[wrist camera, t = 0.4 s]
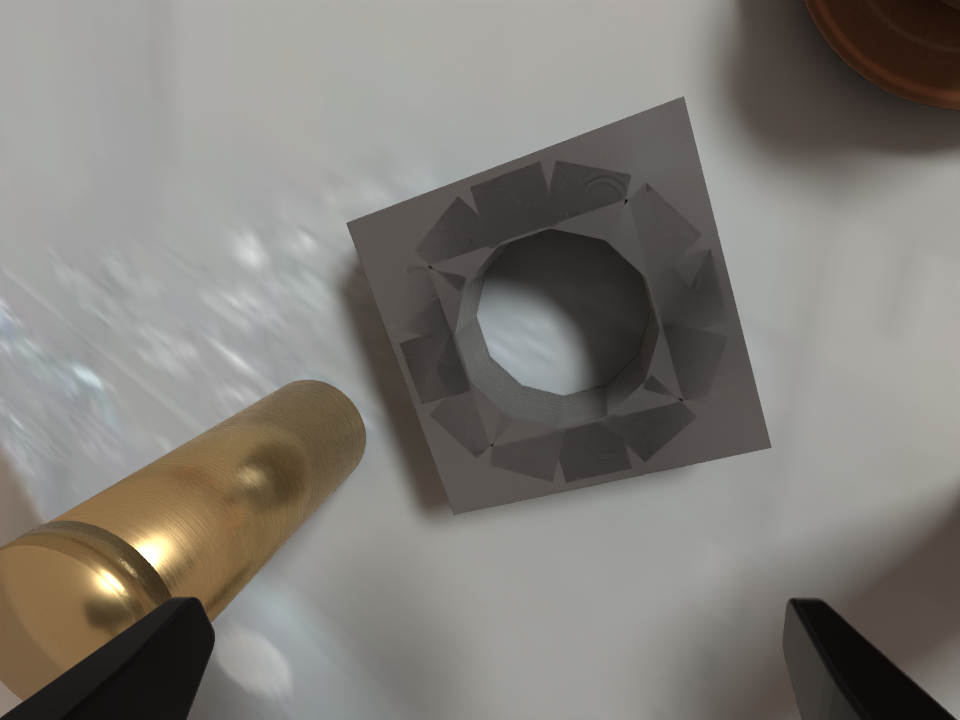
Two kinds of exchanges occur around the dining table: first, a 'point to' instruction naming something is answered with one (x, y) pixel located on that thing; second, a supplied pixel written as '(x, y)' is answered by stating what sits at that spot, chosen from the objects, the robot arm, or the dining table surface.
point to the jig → (591, 413)
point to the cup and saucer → (897, 44)
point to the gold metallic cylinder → (173, 530)
